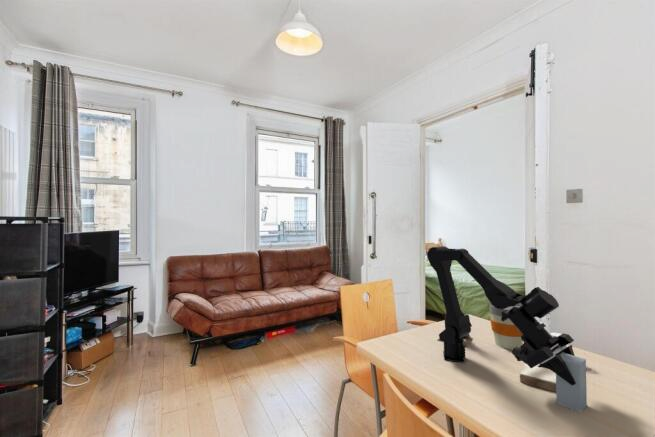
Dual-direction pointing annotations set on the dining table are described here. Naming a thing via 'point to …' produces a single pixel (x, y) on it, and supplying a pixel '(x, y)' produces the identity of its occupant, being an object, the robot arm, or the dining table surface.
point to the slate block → (576, 393)
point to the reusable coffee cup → (504, 329)
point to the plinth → (538, 377)
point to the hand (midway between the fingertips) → (577, 381)
